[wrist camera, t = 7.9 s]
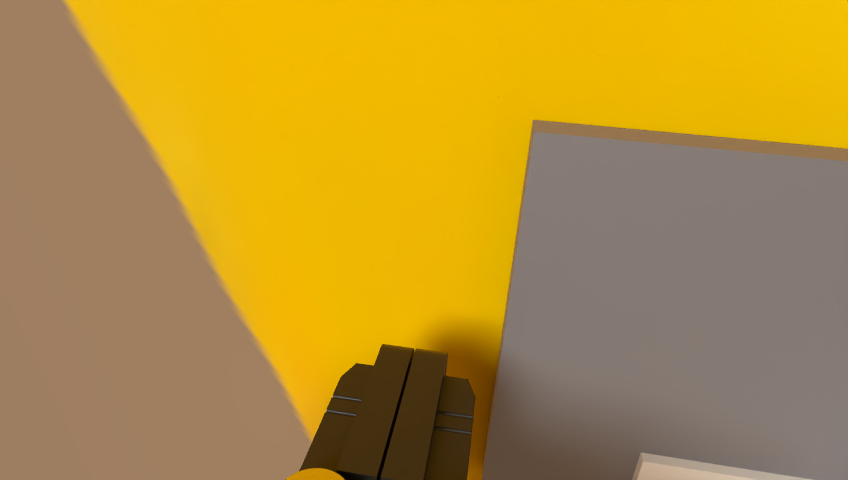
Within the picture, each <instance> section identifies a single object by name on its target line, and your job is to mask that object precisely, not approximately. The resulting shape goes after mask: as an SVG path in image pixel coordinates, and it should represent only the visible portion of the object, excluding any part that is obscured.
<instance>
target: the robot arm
mask: <svg viewBox="0 0 848 480" xmlns="http://www.w3.org/2000/svg"><path fill="white" fill-rule="evenodd" d="M447 357H448V353H444V352H436V351H429V350H422V349H416V350H415V352H414V348H407V347H400V346H393V345H386V344H383V345H382V346H381V348H380V351H379V354H378V356H377V359H376V362H375V364H374V366H372V365H365V364H358V363H356V364H355V365H354V366H353V367H352V368H350V369H349V370H348V371H347V372H346V373H345V374H344V375H343V376H341V378H340V380H339V382H338V385H337V387H336V389H335V391H334V394H333V398H331V401H330V403H329V405H328V407H327V411H326V413H325V414H324V416H323V419H322V421H321V423H320V426H319V428H318V430H317V432H316V435H315V437H314V439H313V442H312V444H311V446H310V448H309V451H308V453H307V455H306V458H305V460H304V462H303V465H302V467H301V469H300V470H299V472H297V473H294V474H293V475H291V476H290V477H288V478H287V479H286V480H467V473H468V463H469V454H470V444H471V434H472V424H473V415H474V405H475V395H474V393H473V391H472V388H471V386H470V384H469V381H468V379H462V378H455V377H448V376H446V369H447Z"/></svg>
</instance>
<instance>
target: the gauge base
mask: <svg viewBox="0 0 848 480" xmlns="http://www.w3.org/2000/svg"><path fill="white" fill-rule="evenodd" d="M482 480H848V149H843V148H832V147H821V146H810V145H800V144H789V143H778V142H767V141H756V140H745V139H734V138H724V137H713V136H702V135H691V134H680V133H669V132H658V131H647V130H637V129H626V128H615V127H604V126H593V125H582V124H571V123H561V122H550V121H539V120H533V124H532V131H531V138H530V145H529V152H528V159H527V166H526V172H525V179H524V186H523V193H522V200H521V207H520V214H519V221H518V228H517V234H516V241H515V248H514V255H513V262H512V269H511V276H510V283H509V289H508V296H507V303H506V310H505V317H504V324H503V331H502V338H501V345H500V351H499V358H498V365H497V372H496V379H495V386H494V393H493V400H492V406H491V413H490V420H489V427H488V434H487V441H486V448H485V455H484V462H483V469H482Z"/></svg>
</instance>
